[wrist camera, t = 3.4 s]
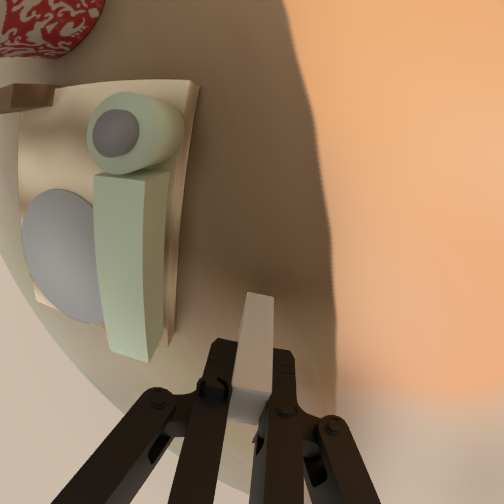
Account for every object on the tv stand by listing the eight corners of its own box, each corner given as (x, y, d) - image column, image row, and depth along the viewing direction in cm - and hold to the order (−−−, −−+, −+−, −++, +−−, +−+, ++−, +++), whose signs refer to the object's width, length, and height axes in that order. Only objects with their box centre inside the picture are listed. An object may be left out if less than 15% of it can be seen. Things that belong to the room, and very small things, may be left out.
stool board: (40, 93, 13) (-15, 94, 8) (200, 82, 13) (162, 57, 8) (48, 290, 21) (12, 324, 15) (175, 331, 21) (150, 386, 15)
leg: (128, 99, 12) (83, 92, 8) (189, 100, 12) (157, 89, 8) (124, 319, 18) (99, 357, 14) (169, 332, 18) (150, 374, 14)
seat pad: (18, 184, 15) (15, 184, 14) (126, 197, 15) (123, 199, 14) (36, 300, 19) (35, 302, 19) (132, 337, 19) (131, 339, 19)
